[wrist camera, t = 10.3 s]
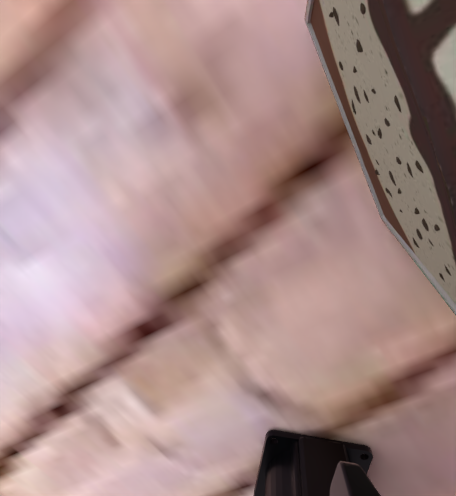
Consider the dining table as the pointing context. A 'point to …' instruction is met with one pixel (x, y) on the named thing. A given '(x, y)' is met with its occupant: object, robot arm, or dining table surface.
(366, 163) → the food container
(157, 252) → the dining table surface
